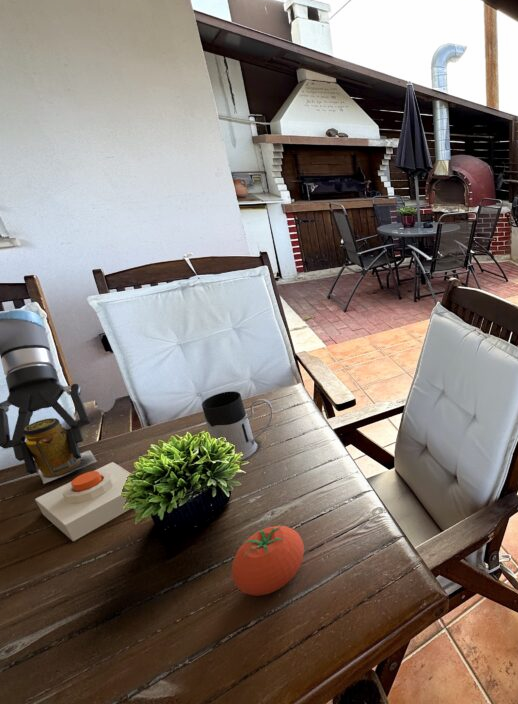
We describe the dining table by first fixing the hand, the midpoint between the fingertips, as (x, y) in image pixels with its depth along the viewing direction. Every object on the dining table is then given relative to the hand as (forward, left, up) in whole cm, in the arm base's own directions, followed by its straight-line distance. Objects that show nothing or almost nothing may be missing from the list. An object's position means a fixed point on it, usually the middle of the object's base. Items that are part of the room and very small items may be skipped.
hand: (55, 464), depth 87 cm
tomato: (+55, -32, -5) cm, 64 cm away
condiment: (-1, +4, -4) cm, 5 cm away
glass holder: (+36, +5, -5) cm, 37 cm away
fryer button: (+13, -9, +1) cm, 16 cm away
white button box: (+13, -9, -5) cm, 17 cm away
